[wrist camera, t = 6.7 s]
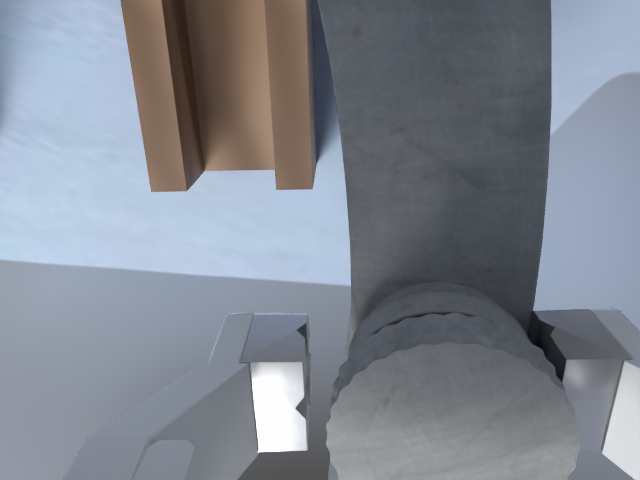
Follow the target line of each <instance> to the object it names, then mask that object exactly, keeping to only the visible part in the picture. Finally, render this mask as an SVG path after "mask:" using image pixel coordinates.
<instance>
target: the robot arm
mask: <svg viewBox="0 0 640 480" xmlns="http://www.w3.org/2000/svg"><path fill="white" fill-rule="evenodd" d="M309 337H310V331H309V317H308V313H255V314H254V313H229V314H227V315H226V316H225V318H224V321H223V323H222V326H221V329H220V331H219V334H218V337H217V339H216V342H215V345H214V348H213V350H212V353H211V356H210V359H209V361H208V364H199V365H197V366H195V367H194V368H192V369H191V370H190V371H188V372H187V373H185V374H184V375H182V376H181V377H179V378H178V379H176V380H174V381H173V382H171V383H170V384H168V385H167V386H166V387H164V388H162V389H161V390H159V391H158V392H156V393H155V394H153V395H152V396H150V397H149V398H147V399H146V400H144V401H143V402H141V403H139V404H138V405H136V406H135V407H134V408H132V409H130V410H129V411H127V412H126V413H124V414H123V415H121V416H120V417H118V418H117V419H115V420H114V421H112V422H111V423H109V424H108V425H106V426H105V427H103V428H102V429H100V430H99V431H97V432H96V433H94V434H93V435H91V436H90V437H88V438H87V439H86V441H85V443H84V444H83V446H82V448H81V450H80V451H79V453H78V454H77V456H76V458H75V459H74V461H73V463H72V464H71V466H70V468H69V470H68V471H67V473H66V475H65V477H64V478H63V480H237V479H238V478H239V476H240V475H241V474H242V473H243V472H244V470H245V469H246V468H247V467H248V466H249V465H250V464H251V462H252V461H253V460H254V459H255V458H256V456H257V455H258V452H270V451H304V450H307V445H308V432H309V405H310V402H311V354H310V353H309V352H308V351H309ZM528 338H529V341H530V342H531V344H533V345H535V346H537V347H539V348H541V349H542V350H543V352H544V355H545V357H546V359H547V360H548V361H549V362H550V363H552V364H553V365H554V367H555V371H556V376H557V377H558V378H559V380H560V381H561V382H562V384H563V385H564V387H565V393H566V398H567V399H568V400H569V402H570V403H571V404H572V406H573V407H574V409H575V419H576V421H577V423H578V425H579V427H580V433H579V437H578V440H579V443H580V446H581V448H580V451H603V452H602V453H603V454H604V455H605V456H606V457H607V458H609V459H610V460H611V461H612V462H614V463H615V464H616V465H617V466H619V467H620V468H621V469H622V470H624V471H625V472H626V473H627V474H629V475H630V476H631V477H632V478H634V479H635V480H640V331H639V330H638V329H637V328H636V327H635V326H634V325H633V324H632V323H631V322H630V321H629V320H628V318H627V317H626V316H625V315H624V314H623V313H622V312H621V311H620V310H617V309H615V308H599V309H574V310H547V311H532V313H531V319H530V325H529V331H528Z"/></svg>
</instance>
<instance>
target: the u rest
mask: <svg viewBox="0 0 640 480" xmlns="http://www.w3.org/2000/svg"><path fill="white" fill-rule="evenodd" d="M121 6H122V12H123V18H124V24H125V31H126V37H127V43H128V49H129V56H130V62H131V68H132V74H133V80H134V87H135V93H136V99H137V105H138V112H139V118H140V124H141V130H142V136H143V143H144V149H145V155H146V161H147V168H148V174H149V180H150V186H151V192H169V191H187V190H188V189H189V188H190V187H191V186H192V185H193V184H194V182H195V181H196V180H197V179H198V178H199V177H200V175H201V174H202V173H203V172H204V171H222V170H275V177H276V190H290V189H313V183H314V177H315V170H316V164H317V160H316V129H315V98H314V66H313V35H312V4H311V0H121Z"/></svg>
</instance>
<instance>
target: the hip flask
mask: <svg viewBox="0 0 640 480" xmlns="http://www.w3.org/2000/svg"><path fill="white" fill-rule="evenodd" d="M318 5H319V10H320V15H321V20H322V25H323V30H324V35H325V40H326V46H327V51H328V56H329V61H330V67H331V74H332V80H333V87H334V93H335V99H336V106H337V112H338V119H339V125H340V134H341V143H342V153H343V162H344V171H345V181H346V192H347V206H348V220H349V234H350V254H351V293H352V294H351V310H350V318H349V325H348V333H347V340H346V348H345V356H344V363H343V364H342V365H341V366H340V368H339V373H338V377H337V379H336V380H335V382H334V383H333V391H334V394H333V396H332V398H331V401H330V416H329V419H328V421H327V424H326V428H327V434H328V436H327V441H326V446H327V447H328V449H329V451H330V467H329V475H328V480H568V476H569V474H570V473H571V472H572V471H573V470H574V469H575V467H576V457H577V454H578V453H579V451H580V448H581V446H580V443H579V440H578V437H579V433H580V427H579V425H578V423H577V421H576V419H575V409H574V407H573V406H572V404H571V403H570V402H569V400H568V399H567V398H566V393H565V387H564V385H563V384H562V382H561V381H560V380H559V378H558V377H557V376H556V371H555V367H554V365H553V364H552V363H550V362H549V361H548V360H547V359H546V357H545V355H544V352H543V350H542V349H541V348H539V347H537V346H535V345H533V344H531V342H530V341H529V338H528V331H529V325H530V319H531V313H532V311H533V307H534V300H535V293H536V285H537V278H538V270H539V263H540V255H541V248H542V238H543V227H544V215H545V203H546V191H547V179H548V162H549V140H550V122H551V0H318Z"/></svg>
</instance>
